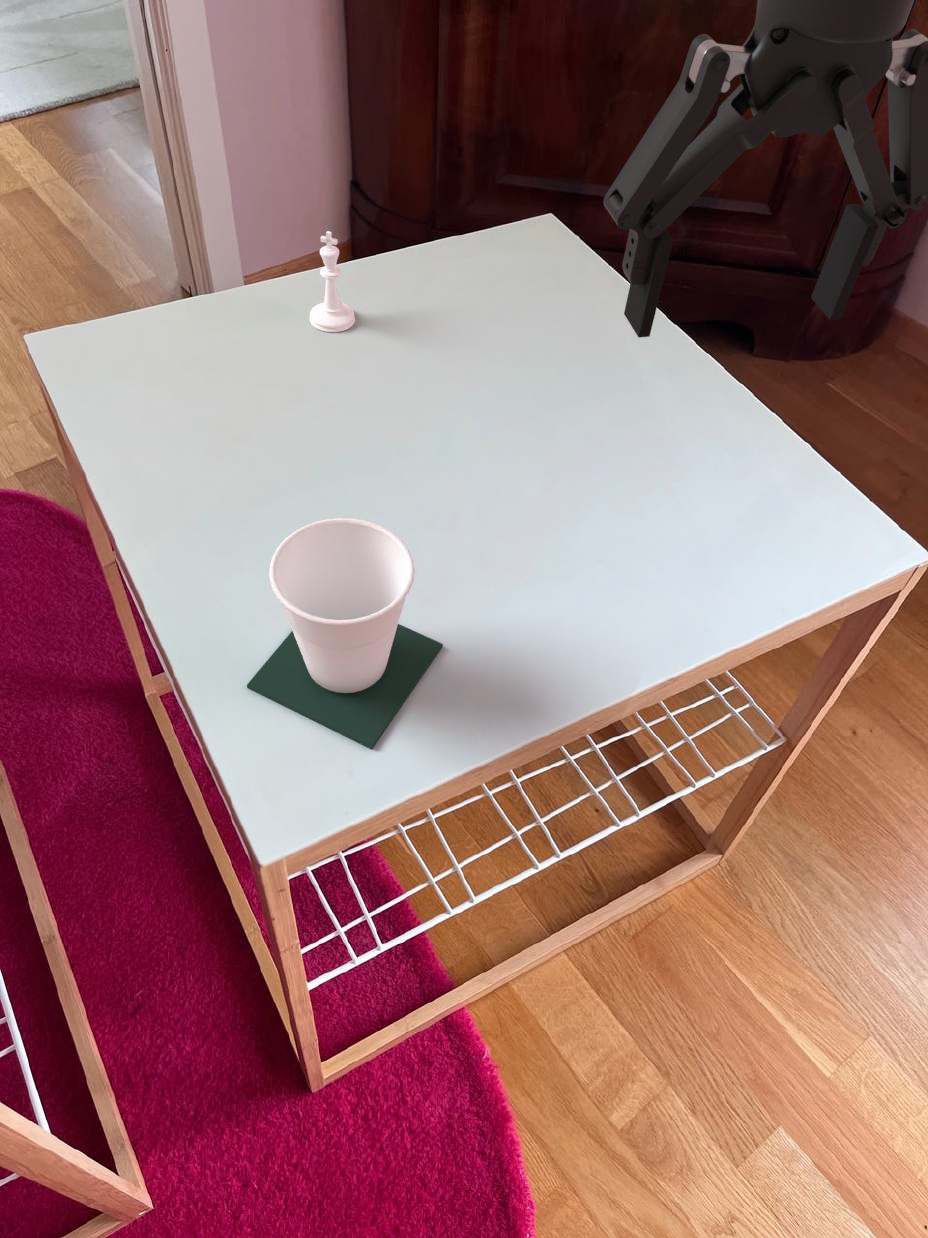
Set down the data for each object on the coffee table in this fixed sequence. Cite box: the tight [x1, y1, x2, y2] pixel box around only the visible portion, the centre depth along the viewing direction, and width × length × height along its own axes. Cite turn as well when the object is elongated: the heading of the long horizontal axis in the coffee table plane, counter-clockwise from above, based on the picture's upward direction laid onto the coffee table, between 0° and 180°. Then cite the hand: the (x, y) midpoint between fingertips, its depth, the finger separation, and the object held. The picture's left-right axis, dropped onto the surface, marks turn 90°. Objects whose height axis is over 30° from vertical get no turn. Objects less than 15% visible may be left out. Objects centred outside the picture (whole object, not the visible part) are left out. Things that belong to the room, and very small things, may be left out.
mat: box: [246, 623, 444, 750], centre depth 74 cm, size 11×11×1 cm
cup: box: [269, 517, 416, 693], centre depth 69 cm, size 10×10×11 cm
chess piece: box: [309, 230, 356, 333], centre depth 99 cm, size 5×5×10 cm
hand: (732, 317), depth 62 cm, fingers open, 13 cm apart
